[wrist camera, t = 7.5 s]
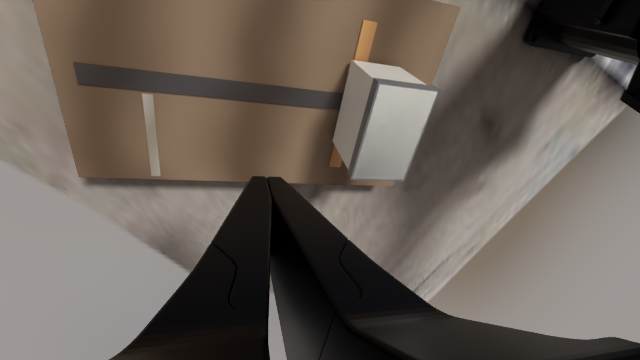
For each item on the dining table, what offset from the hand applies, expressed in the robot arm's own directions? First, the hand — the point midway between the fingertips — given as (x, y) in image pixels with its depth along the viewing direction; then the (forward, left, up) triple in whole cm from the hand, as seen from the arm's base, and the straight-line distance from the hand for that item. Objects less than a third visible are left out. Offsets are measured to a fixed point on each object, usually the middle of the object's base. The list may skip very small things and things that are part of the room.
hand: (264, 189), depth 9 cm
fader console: (-1, 0, -12) cm, 12 cm away
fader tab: (-7, +1, -10) cm, 12 cm away
